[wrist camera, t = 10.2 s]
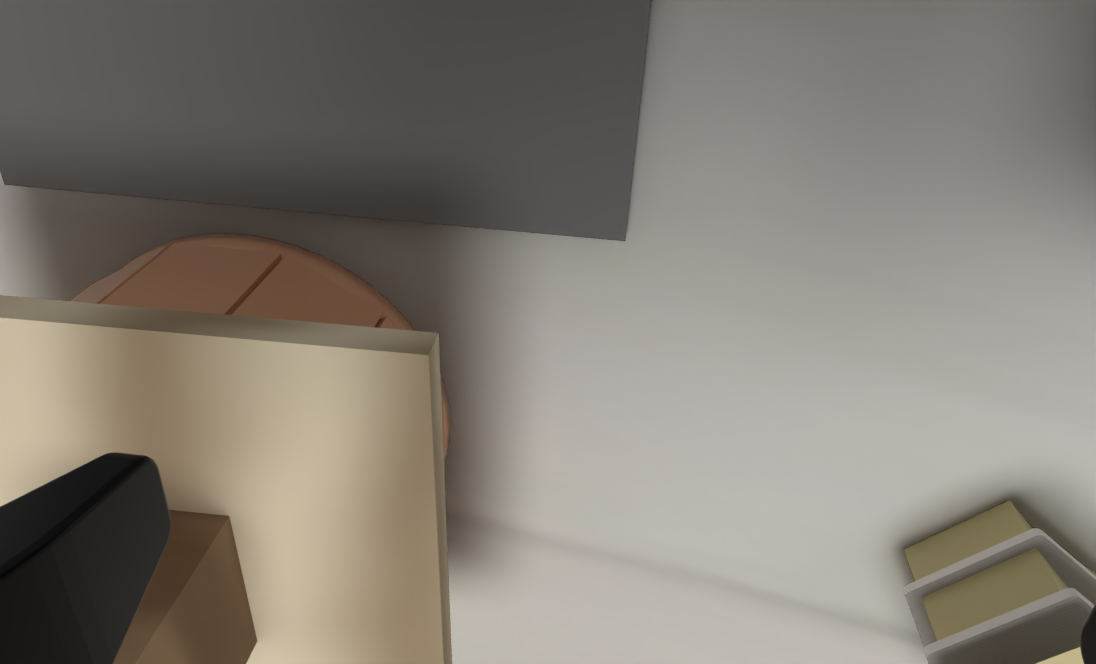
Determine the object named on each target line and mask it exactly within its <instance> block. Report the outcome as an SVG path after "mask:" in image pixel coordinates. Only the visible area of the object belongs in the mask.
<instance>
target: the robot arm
mask: <svg viewBox="0 0 1096 664" xmlns="http://www.w3.org/2000/svg"><path fill="white" fill-rule="evenodd" d="M170 532H171V516H170V512H169V508H168V504H167V500H166V496H165V492H164V488H163V484H162V480H161V476H160V472H159V468H158V466H157V464H156V462H155V461H154V460H153V459H152V458H150V457H148V456H145V455H136V454H127V453H118V452H114V453H107V454H104V455H102V456H100V457H98V458H96V459H94V460H92V461H90V462H88V463H86V464H84V465H82V466H80V467H78V468H76V469H74V470H72V471H70V472H68V473H66V474H64V475H62V476H60V477H58V478H56V479H54V480H52V481H50V482H48V483H46V484H44V485H42V486H40V487H38V488H36V489H34V490H32V491H30V492H28V493H26V494H24V495H22V496H20V497H18V498H16V499H14V500H12V501H10V502H8V503H6V504H4V505H2V506H0V664H114V662H115V660H116V657H117V655H118V653H119V651H120V648H121V646H122V644H123V642H124V639H125V637H126V635H127V633H128V630H129V628H130V626H131V624H132V622H133V619H134V617H135V615H136V613H137V610H138V608H139V606H140V604H141V601H142V599H143V597H144V595H145V592H146V590H147V588H148V586H149V584H150V581H151V579H152V577H153V575H154V572H155V570H156V568H157V566H158V563H159V561H160V559H161V557H162V554H163V552H164V550H165V548H166V545H167V543H168V540H169V536H170ZM1080 649H1081V655H1082V659H1083V662H1084V664H1096V603H1095V605H1094V607H1093V609H1092V610H1091V612H1090V614H1089V616H1088V617H1087V619H1086V621H1085V622H1084V625H1083V627H1082V630H1081V635H1080Z"/></svg>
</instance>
